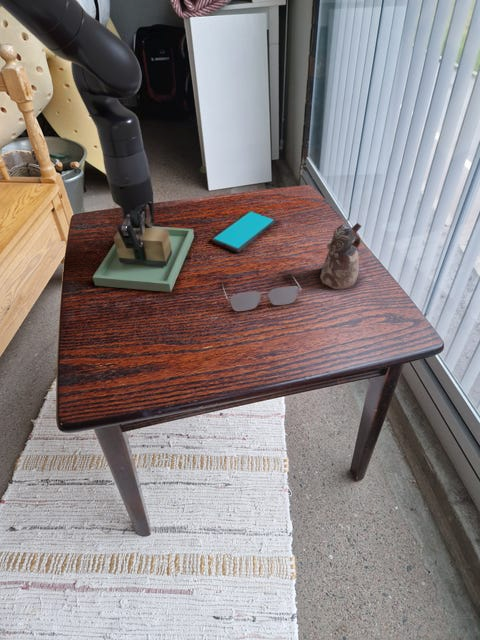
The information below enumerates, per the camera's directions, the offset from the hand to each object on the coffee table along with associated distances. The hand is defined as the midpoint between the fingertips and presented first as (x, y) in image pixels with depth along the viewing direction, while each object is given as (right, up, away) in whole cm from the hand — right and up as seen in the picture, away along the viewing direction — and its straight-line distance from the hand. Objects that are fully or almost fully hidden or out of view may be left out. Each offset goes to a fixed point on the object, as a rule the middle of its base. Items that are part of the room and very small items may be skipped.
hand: (145, 252), depth 87 cm
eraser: (0, -1, +1) cm, 1 cm away
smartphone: (+21, +6, +9) cm, 24 cm away
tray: (0, -1, +2) cm, 3 cm away
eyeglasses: (+24, -9, -6) cm, 26 cm away
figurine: (+39, -6, -3) cm, 40 cm away
